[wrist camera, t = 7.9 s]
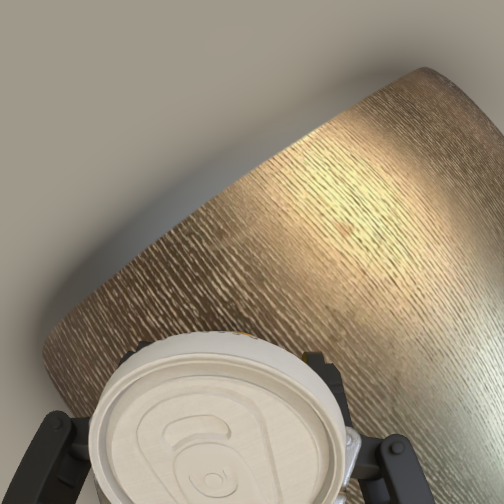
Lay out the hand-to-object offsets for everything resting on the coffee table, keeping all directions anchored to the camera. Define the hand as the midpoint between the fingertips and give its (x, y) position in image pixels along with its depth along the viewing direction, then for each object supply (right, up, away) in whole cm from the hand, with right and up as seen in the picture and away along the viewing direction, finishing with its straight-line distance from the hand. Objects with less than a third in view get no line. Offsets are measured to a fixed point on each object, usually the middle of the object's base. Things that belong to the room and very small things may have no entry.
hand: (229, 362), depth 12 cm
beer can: (0, -4, +7) cm, 8 cm away
